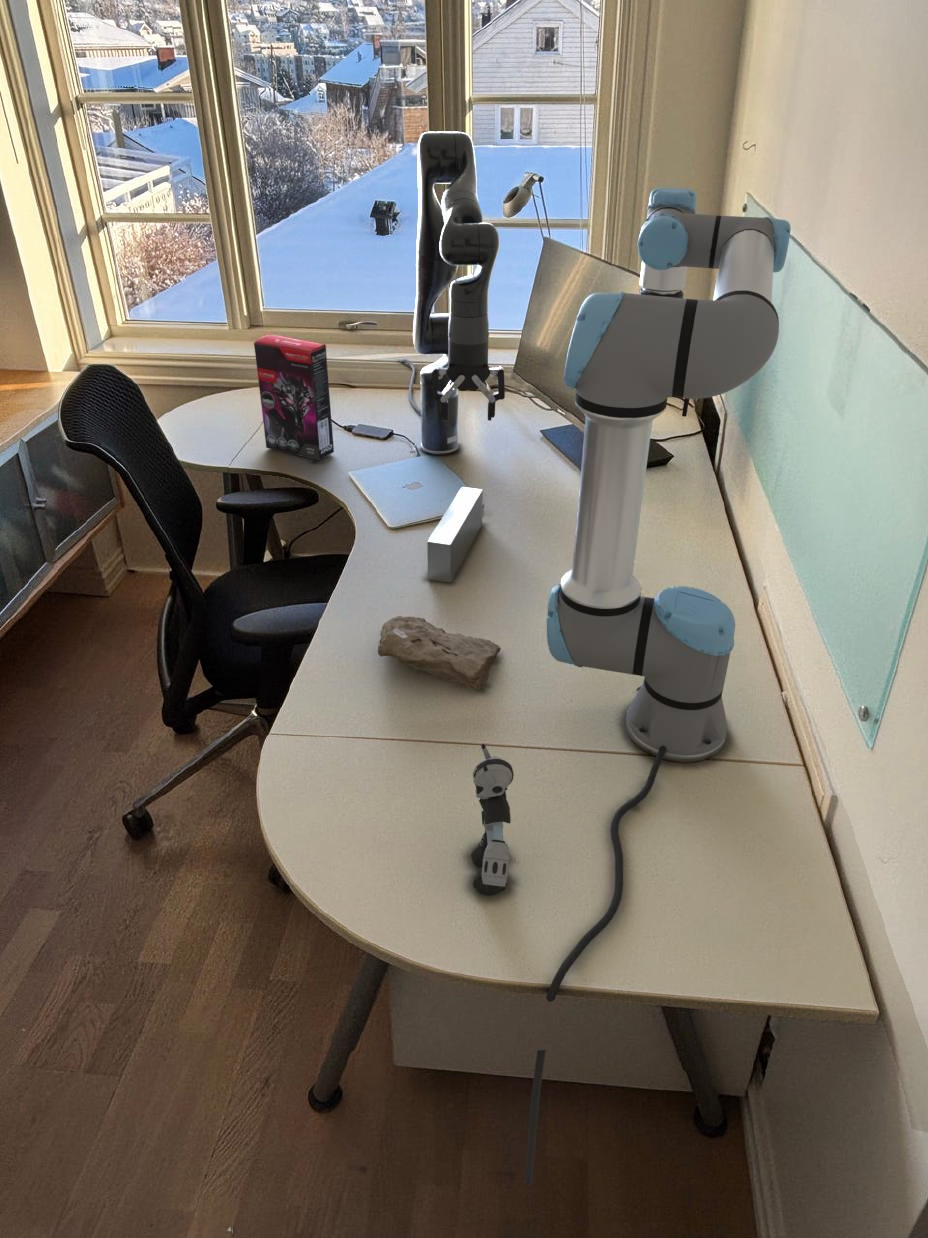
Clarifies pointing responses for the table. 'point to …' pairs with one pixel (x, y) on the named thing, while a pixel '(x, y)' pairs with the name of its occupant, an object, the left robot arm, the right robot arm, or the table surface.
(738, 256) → the right robot arm
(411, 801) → the table surface
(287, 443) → the graphics card box
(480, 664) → the stone
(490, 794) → the robot
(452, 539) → the bar
